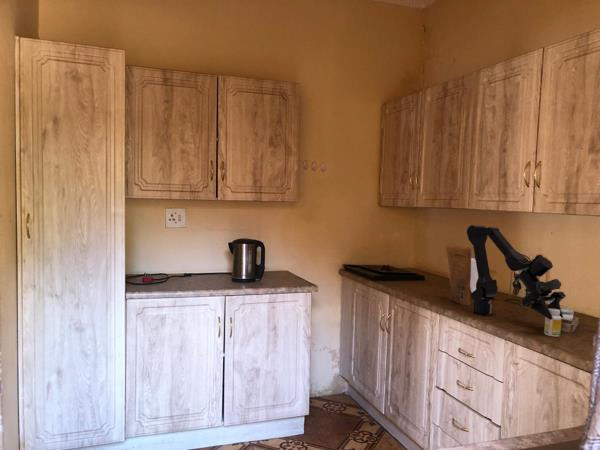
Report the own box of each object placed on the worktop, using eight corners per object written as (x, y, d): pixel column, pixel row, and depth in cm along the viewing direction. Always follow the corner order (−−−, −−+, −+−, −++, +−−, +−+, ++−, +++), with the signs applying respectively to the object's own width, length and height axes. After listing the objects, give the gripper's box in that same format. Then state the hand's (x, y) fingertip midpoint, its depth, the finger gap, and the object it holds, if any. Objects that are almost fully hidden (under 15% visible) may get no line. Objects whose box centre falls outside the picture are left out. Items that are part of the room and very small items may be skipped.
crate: (547, 329, 177) (547, 320, 177) (554, 322, 190) (554, 313, 190) (572, 334, 172) (573, 325, 172) (578, 326, 185) (578, 317, 184)
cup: (482, 290, 256) (484, 259, 255) (488, 294, 246) (490, 261, 245) (463, 289, 257) (464, 258, 256) (468, 293, 247) (470, 260, 246)
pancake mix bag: (462, 306, 213) (465, 247, 211) (441, 297, 231) (444, 243, 230) (475, 306, 214) (478, 247, 213) (453, 297, 233) (456, 243, 231)
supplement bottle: (542, 334, 170) (543, 309, 169) (546, 331, 174) (547, 307, 173) (558, 337, 166) (560, 312, 166) (561, 335, 170) (563, 309, 170)
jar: (555, 324, 183) (556, 309, 183) (557, 321, 188) (558, 307, 188) (571, 327, 180) (572, 312, 180) (573, 324, 184) (574, 310, 184)
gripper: (529, 272, 168) (555, 308, 159) (562, 270, 176) (589, 305, 167) (510, 289, 176) (533, 324, 166) (543, 287, 184) (567, 320, 174)
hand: (556, 318), depth 168 cm, fingers closed on supplement bottle, 5 cm apart
